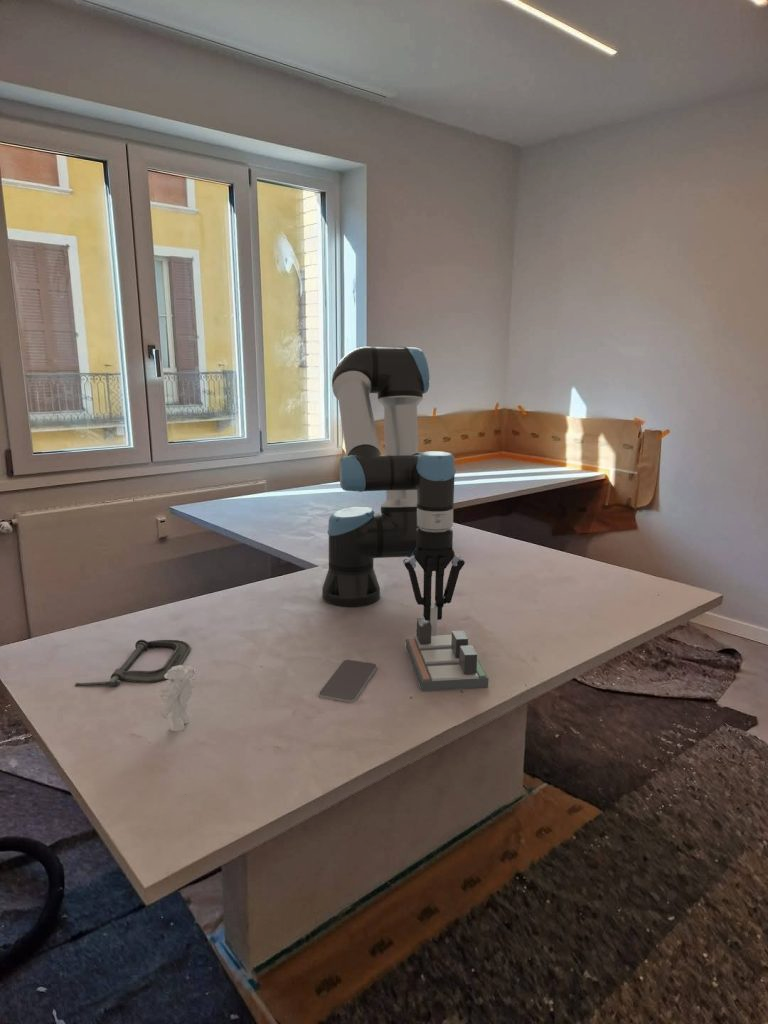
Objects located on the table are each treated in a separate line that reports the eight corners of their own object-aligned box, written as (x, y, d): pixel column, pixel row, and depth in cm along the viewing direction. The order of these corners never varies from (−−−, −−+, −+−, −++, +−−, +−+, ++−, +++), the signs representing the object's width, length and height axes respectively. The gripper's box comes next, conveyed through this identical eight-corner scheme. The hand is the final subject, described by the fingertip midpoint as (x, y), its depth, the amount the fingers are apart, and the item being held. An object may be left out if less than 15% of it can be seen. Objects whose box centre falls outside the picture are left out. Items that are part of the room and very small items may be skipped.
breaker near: (464, 674, 125) (464, 655, 124) (459, 664, 129) (459, 645, 128) (476, 673, 126) (477, 654, 125) (471, 663, 129) (471, 645, 128)
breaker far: (419, 643, 138) (420, 626, 137) (416, 635, 142) (416, 618, 141) (430, 643, 138) (431, 625, 137) (427, 635, 142) (427, 618, 141)
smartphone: (316, 694, 122) (344, 658, 136) (316, 699, 122) (344, 662, 136) (353, 701, 120) (378, 663, 134) (354, 705, 120) (378, 668, 134)
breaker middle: (455, 657, 132) (456, 639, 131) (451, 648, 136) (451, 631, 135) (467, 656, 132) (468, 638, 131) (462, 648, 136) (463, 630, 135)
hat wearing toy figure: (178, 740, 108) (172, 674, 105) (156, 737, 109) (150, 672, 106) (203, 712, 117) (199, 650, 114) (183, 709, 117) (178, 648, 114)
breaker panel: (421, 691, 124) (422, 679, 124) (405, 647, 143) (406, 636, 142) (488, 687, 126) (488, 675, 125) (463, 644, 144) (464, 633, 144)
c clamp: (161, 694, 124) (160, 681, 123) (74, 688, 125) (73, 675, 125) (201, 647, 143) (200, 635, 142) (125, 643, 145) (124, 631, 144)
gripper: (406, 533, 130) (405, 642, 136) (470, 531, 132) (466, 639, 137) (400, 523, 137) (399, 627, 143) (461, 521, 139) (457, 624, 145)
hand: (432, 633), depth 140 cm, fingers closed
